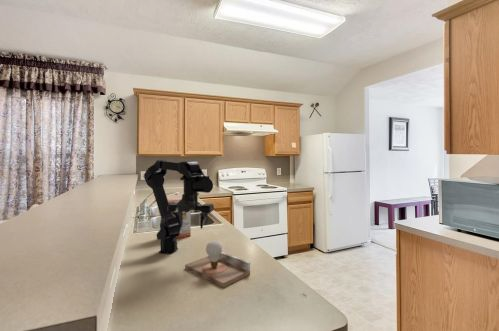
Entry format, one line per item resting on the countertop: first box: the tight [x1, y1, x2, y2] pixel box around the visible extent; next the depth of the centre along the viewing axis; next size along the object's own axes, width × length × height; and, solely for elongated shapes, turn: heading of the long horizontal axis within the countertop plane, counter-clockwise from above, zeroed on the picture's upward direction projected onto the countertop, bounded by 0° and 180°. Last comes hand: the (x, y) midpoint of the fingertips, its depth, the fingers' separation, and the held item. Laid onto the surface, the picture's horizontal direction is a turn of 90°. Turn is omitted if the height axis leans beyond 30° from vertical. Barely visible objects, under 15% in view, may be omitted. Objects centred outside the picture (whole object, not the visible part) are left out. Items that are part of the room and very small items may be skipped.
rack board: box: [184, 251, 251, 288], centre depth 96 cm, size 22×13×4 cm, turn 48°
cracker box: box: [167, 197, 192, 239], centre depth 138 cm, size 14×6×21 cm, turn 117°
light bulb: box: [205, 240, 223, 268], centre depth 96 cm, size 6×6×10 cm
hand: (191, 227), depth 109 cm, fingers open, 9 cm apart
